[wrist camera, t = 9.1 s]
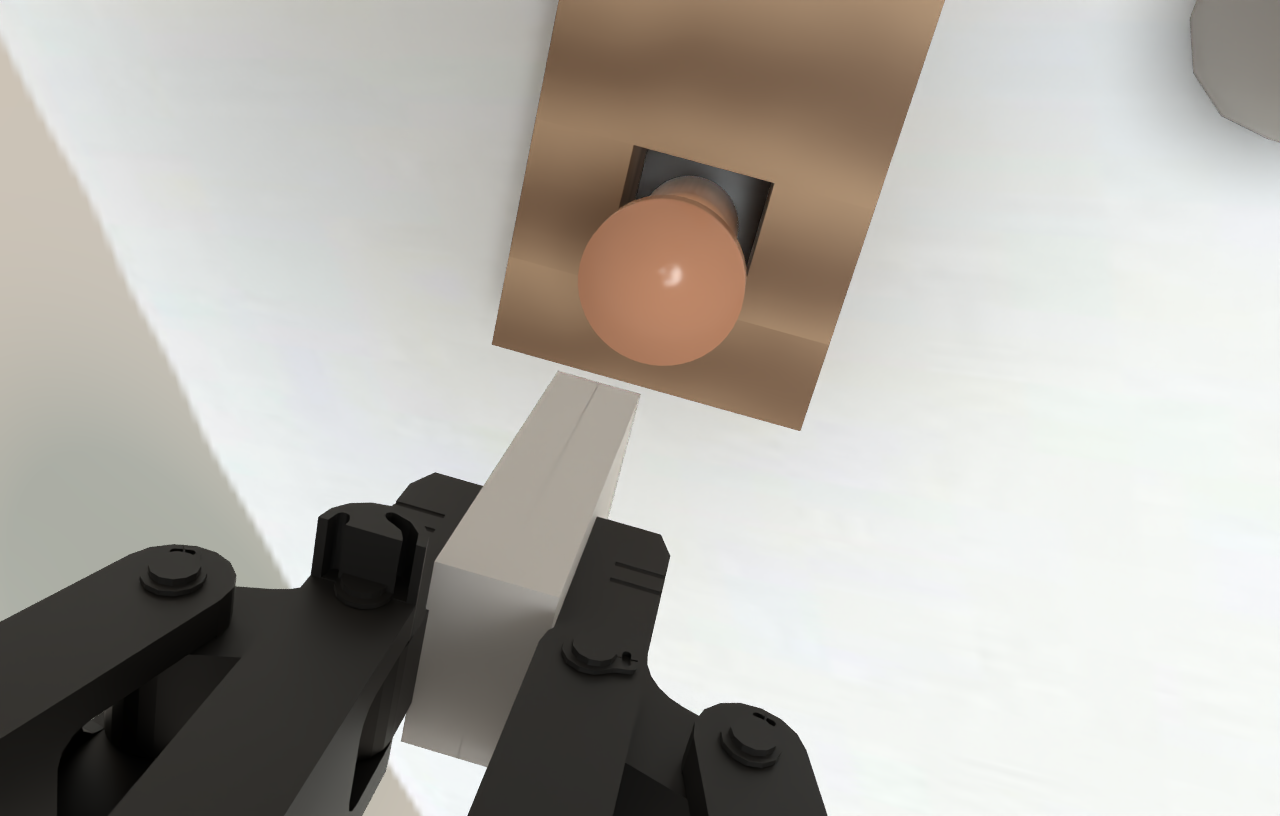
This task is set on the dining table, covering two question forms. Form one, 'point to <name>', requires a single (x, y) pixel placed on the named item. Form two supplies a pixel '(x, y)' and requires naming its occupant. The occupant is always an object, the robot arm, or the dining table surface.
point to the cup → (1240, 60)
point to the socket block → (724, 138)
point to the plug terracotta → (666, 273)
